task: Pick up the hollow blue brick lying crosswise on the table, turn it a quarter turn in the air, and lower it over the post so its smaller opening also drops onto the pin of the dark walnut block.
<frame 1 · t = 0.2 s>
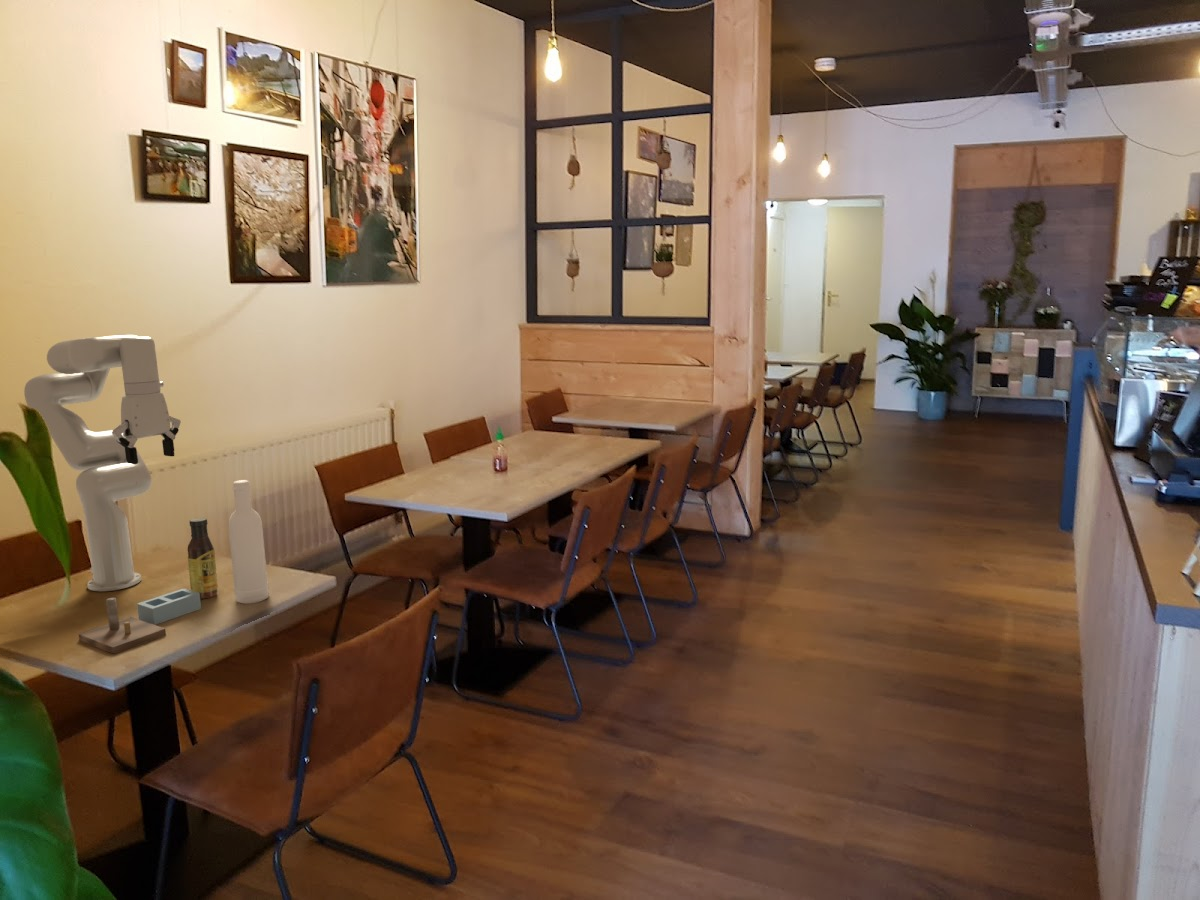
hand: (151, 459, 220), 36 cm above the table, tool pointing down, fingers open, 9 cm apart
bottle: (252, 598, 229), on the table
hollow blue brick: (170, 614, 219), on the table
sauce bottle: (205, 596, 231), on the table
post block: (122, 637, 205), on the table
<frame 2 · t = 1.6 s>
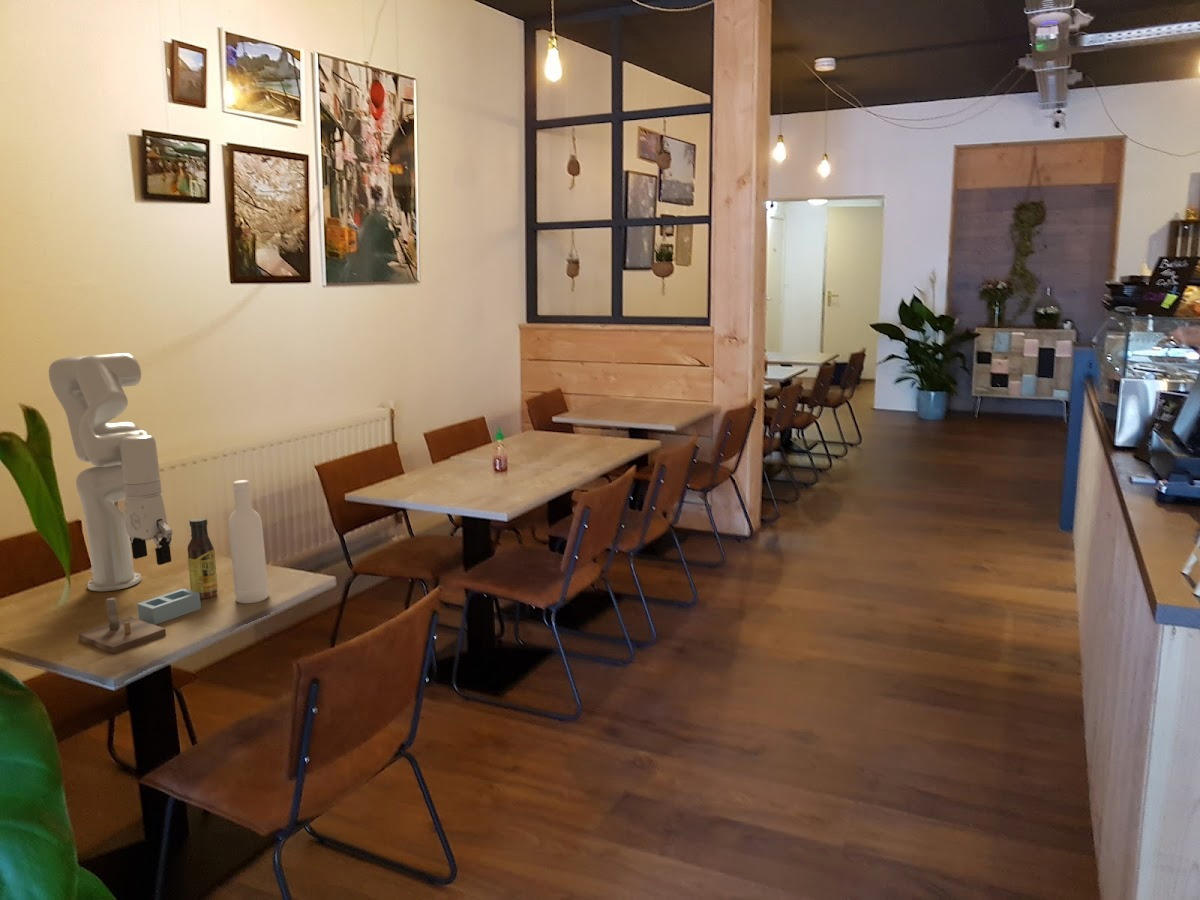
hand: (152, 560, 213), 14 cm above the table, tool pointing down, fingers open, 9 cm apart
nothing on the table moved.
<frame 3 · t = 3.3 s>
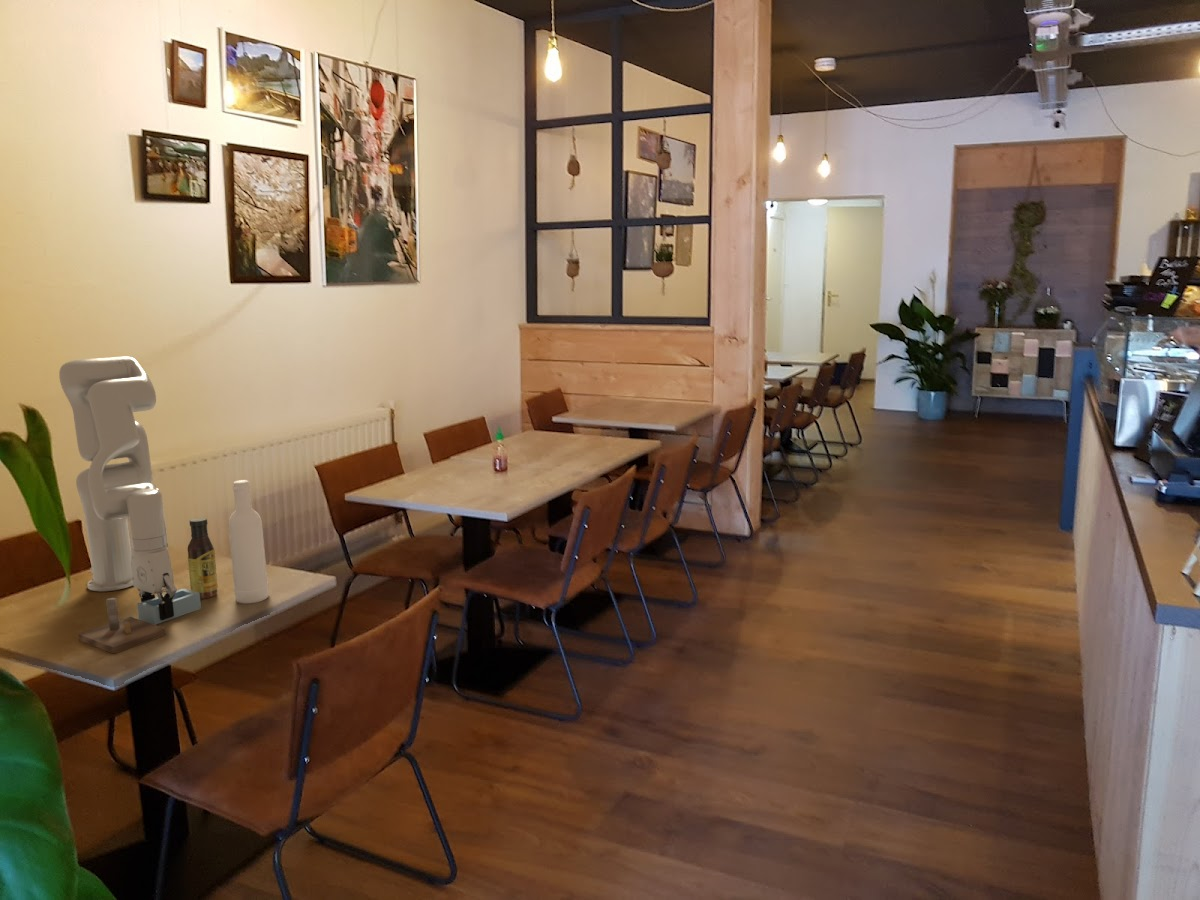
hand: (158, 614, 216), 1 cm above the table, tool pointing down, fingers closed on hollow blue brick, 6 cm apart
hollow blue brick: (170, 614, 219), on the table, touching gripper
everything else where it was.
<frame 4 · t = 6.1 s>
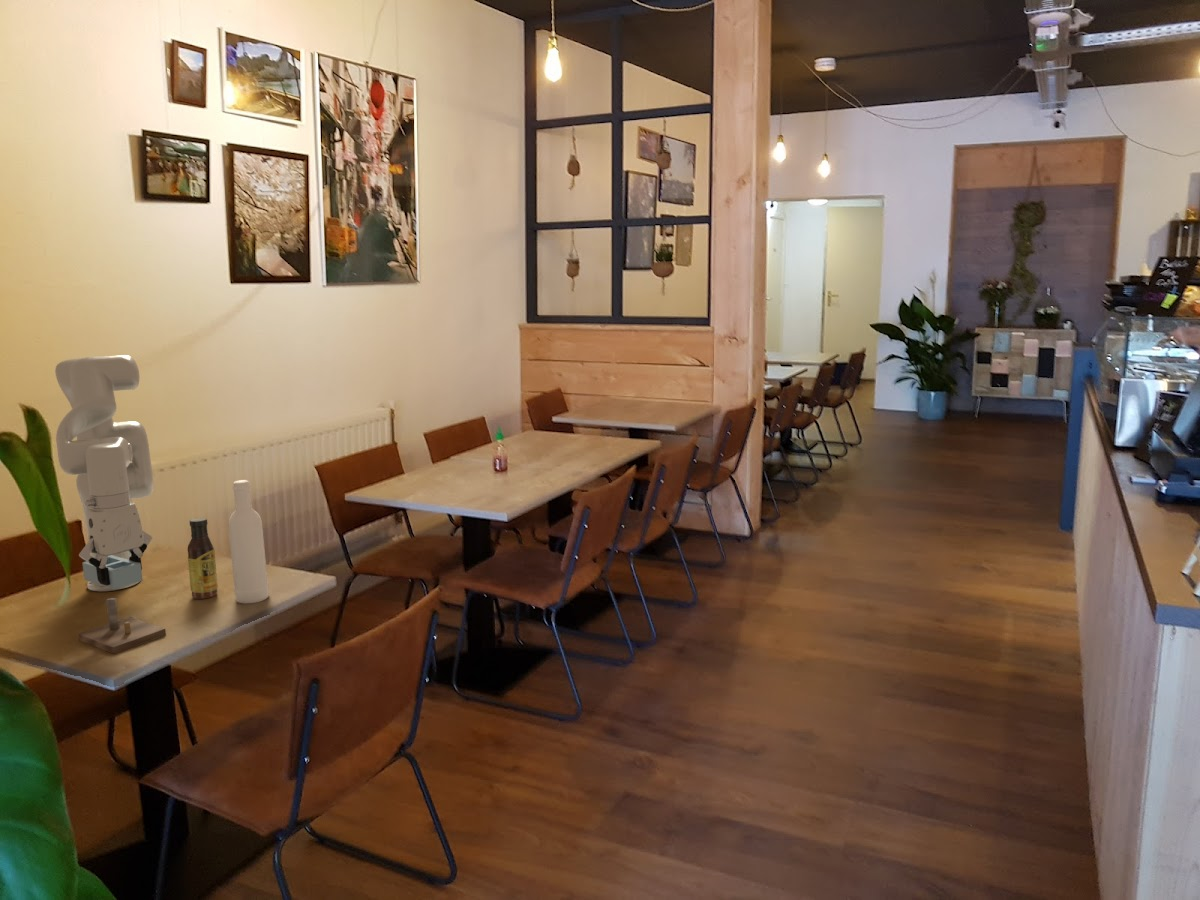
hand: (120, 578, 201), 14 cm above the table, tool pointing down, fingers closed on hollow blue brick, 6 cm apart
hollow blue brick: (113, 580, 203), point 13 cm above the table, touching gripper
everything else where it was.
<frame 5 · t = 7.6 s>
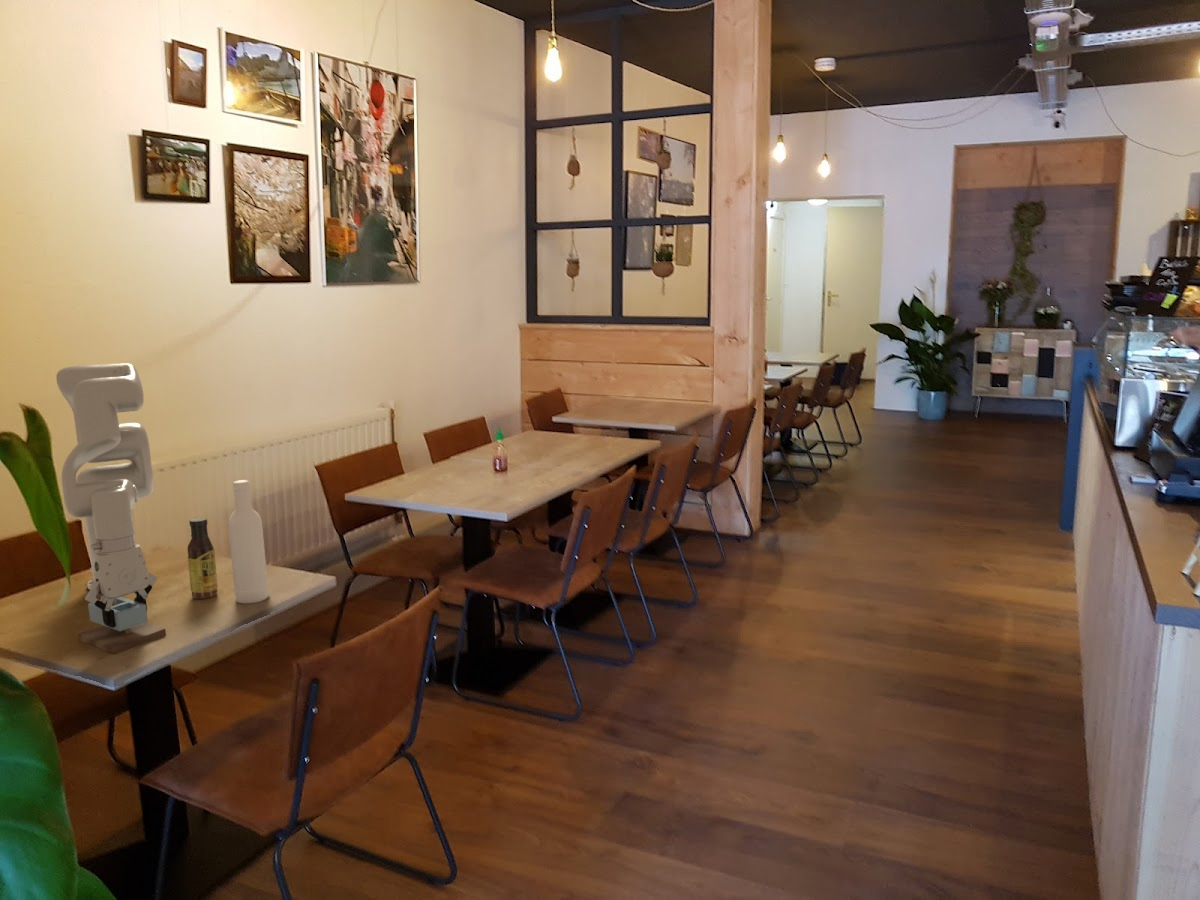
hand: (126, 620, 203), 5 cm above the table, tool pointing down, fingers closed on hollow blue brick, 6 cm apart
hollow blue brick: (118, 621, 205), point 4 cm above the table, touching gripper
everything else where it was.
when the fingers open (4 cm above the table, at t = 8.8 s): hollow blue brick drops 1 cm, resting on post block.
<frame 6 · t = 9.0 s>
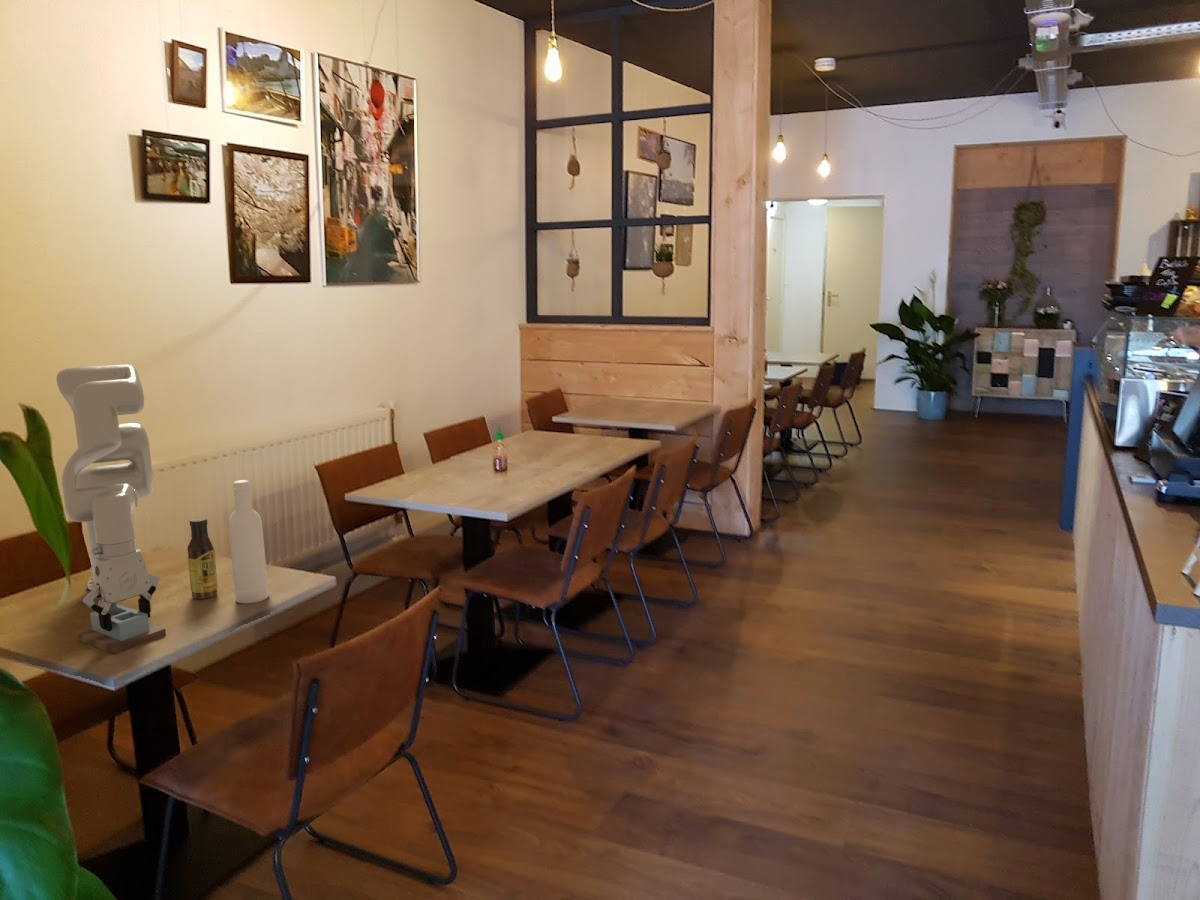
hand: (126, 622, 203), 4 cm above the table, tool pointing down, fingers open, 8 cm apart
hollow blue brick: (120, 630, 206), point 1 cm above the table, touching post block
everything else where it was.
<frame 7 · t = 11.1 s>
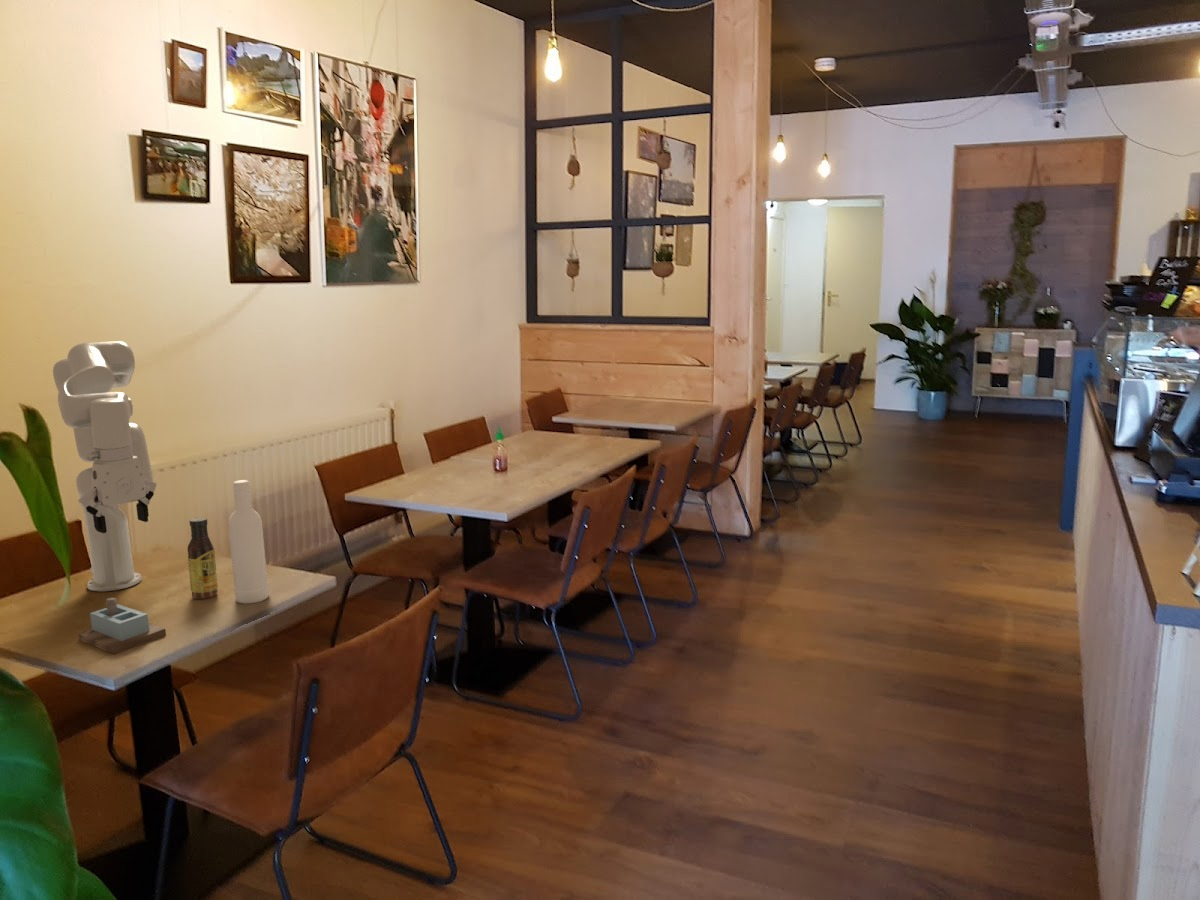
hand: (122, 526, 208), 24 cm above the table, tool pointing down, fingers open, 9 cm apart
nothing on the table moved.
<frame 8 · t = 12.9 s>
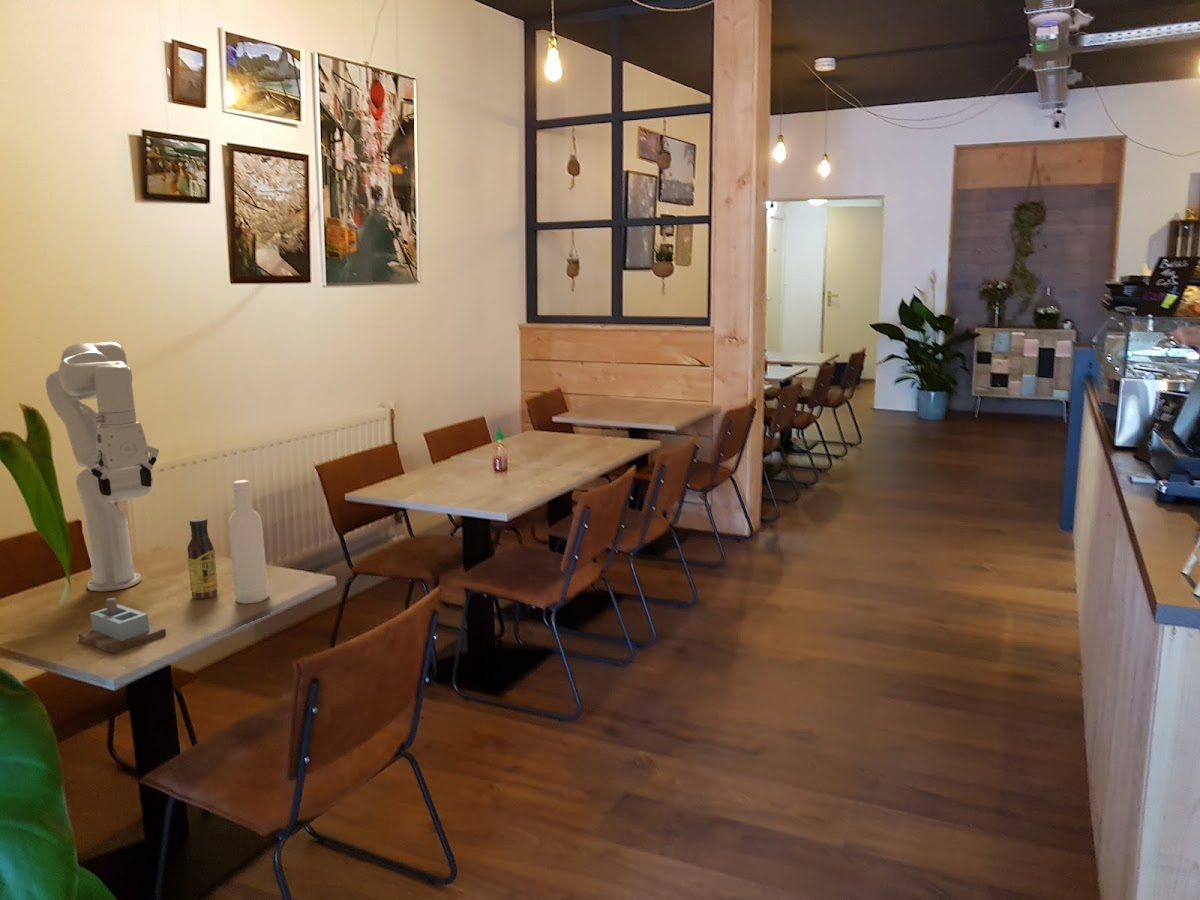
hand: (126, 490, 214), 30 cm above the table, tool pointing down, fingers open, 9 cm apart
nothing on the table moved.
at the end: hollow blue brick 0.1 cm off-centre on the post block, point 1.5 cm above the post block's base; hollow blue brick tilted 0°; the gripper is holding nothing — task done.
